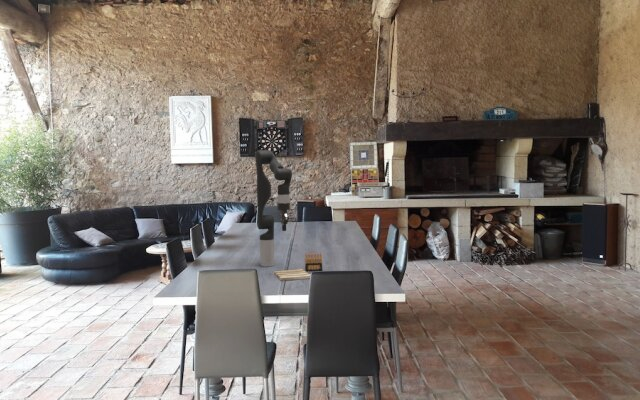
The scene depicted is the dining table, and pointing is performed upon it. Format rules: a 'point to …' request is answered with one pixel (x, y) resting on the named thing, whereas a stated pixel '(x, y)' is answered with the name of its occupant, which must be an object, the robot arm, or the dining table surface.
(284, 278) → the birch plank
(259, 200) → the robot arm
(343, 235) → the dining table surface
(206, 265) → the dining table surface
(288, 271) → the oak board
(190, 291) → the dining table surface
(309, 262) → the ammunition clip
